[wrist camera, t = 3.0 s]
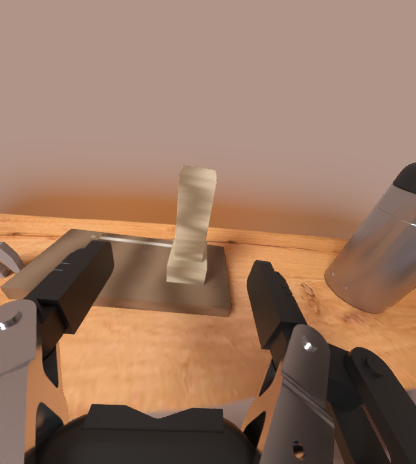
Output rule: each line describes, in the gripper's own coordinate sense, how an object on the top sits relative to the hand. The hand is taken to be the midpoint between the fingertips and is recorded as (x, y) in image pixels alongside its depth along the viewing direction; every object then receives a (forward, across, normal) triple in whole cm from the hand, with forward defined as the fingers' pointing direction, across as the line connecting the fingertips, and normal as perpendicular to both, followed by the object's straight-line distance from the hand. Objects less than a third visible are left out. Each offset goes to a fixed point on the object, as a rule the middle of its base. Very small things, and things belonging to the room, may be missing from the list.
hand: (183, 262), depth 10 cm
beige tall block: (+12, 0, +12) cm, 16 cm away
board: (+12, +7, +14) cm, 19 cm away
